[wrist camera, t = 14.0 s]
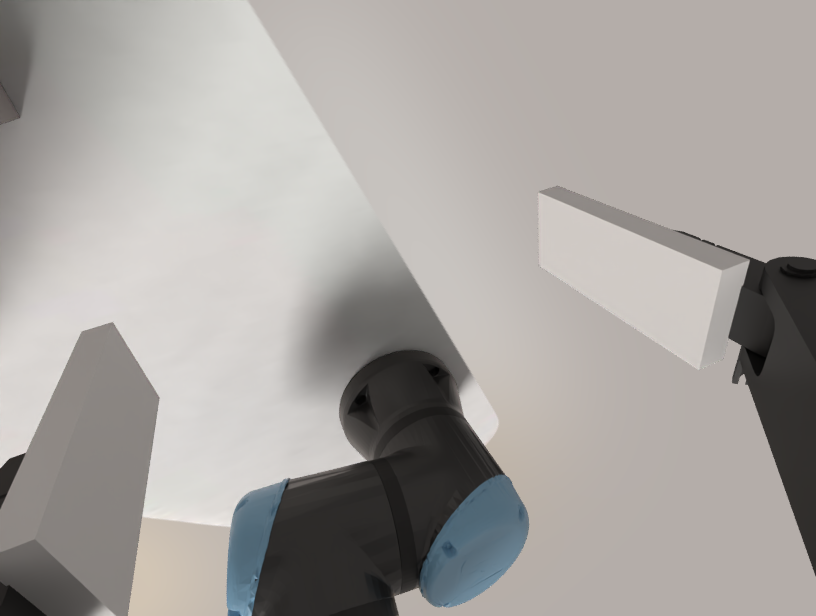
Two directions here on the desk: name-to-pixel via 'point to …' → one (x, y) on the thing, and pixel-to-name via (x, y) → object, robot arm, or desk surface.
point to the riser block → (6, 108)
